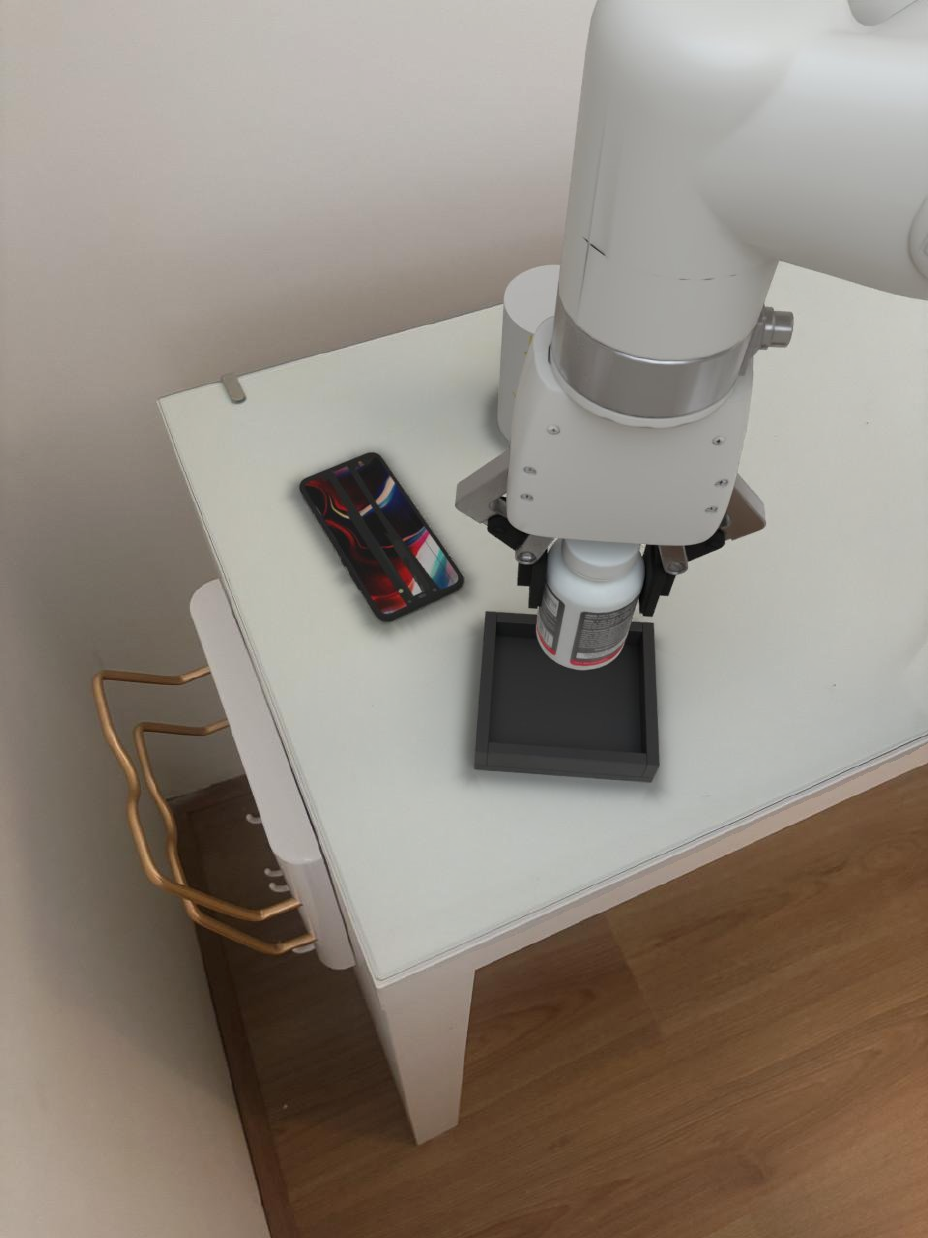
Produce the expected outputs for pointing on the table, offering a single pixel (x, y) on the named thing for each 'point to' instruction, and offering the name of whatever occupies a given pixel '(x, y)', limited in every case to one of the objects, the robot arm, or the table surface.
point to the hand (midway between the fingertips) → (590, 589)
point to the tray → (566, 707)
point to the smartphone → (380, 536)
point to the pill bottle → (588, 601)
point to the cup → (522, 331)
